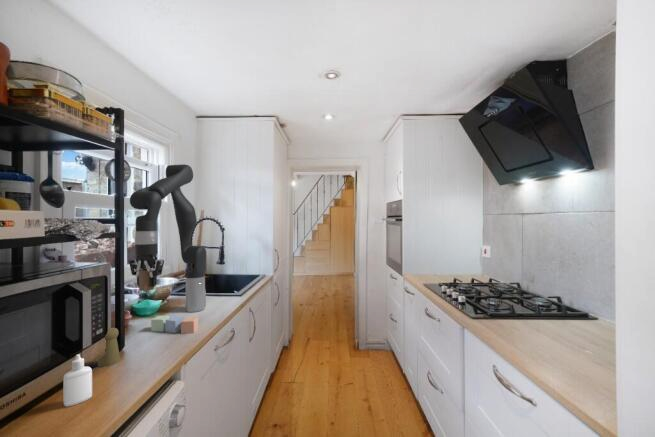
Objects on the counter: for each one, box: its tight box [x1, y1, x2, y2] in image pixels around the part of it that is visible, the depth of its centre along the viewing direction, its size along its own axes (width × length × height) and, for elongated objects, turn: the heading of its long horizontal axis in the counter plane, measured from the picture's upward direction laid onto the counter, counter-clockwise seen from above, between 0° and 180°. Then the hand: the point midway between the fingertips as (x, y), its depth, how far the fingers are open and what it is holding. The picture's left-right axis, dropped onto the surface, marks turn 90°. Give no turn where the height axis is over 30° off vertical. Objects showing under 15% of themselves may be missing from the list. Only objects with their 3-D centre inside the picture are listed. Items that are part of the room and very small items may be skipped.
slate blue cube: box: [165, 315, 185, 334], centre depth 125 cm, size 5×5×5 cm
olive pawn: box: [97, 327, 121, 368], centre depth 97 cm, size 6×6×11 cm
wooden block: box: [138, 269, 155, 292], centre depth 114 cm, size 4×4×8 cm
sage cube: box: [150, 315, 171, 332], centre depth 126 cm, size 5×5×5 cm
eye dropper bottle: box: [62, 353, 93, 407], centre depth 76 cm, size 4×6×12 cm
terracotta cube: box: [180, 317, 199, 335], centre depth 124 cm, size 5×5×5 cm
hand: (146, 286), depth 114 cm, fingers closed on wooden block, 5 cm apart
